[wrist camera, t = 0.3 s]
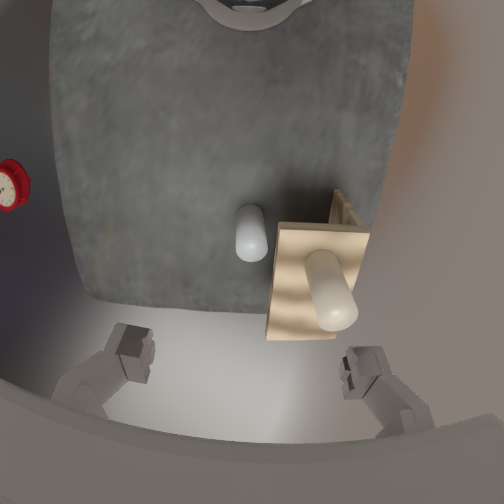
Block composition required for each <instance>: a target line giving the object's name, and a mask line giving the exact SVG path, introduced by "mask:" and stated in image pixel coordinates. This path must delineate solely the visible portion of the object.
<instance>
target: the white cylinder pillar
mask: <svg viewBox="0 0 504 504" xmlns="http://www.w3.org/2000/svg"><path fill="white" fill-rule="evenodd" d="M267 251H268V246H267V238H266V231H265V224H264V217H263V212H262V210H261V209H260V208H259V207H258V206H256V205H251V204H249V205H245V206H243V207H241V208H240V209H239V210H238V212H237V218H236V253H237V255H238V256H239V257H240V258H241V259H242V260H244V261H247V262H255V261H259V260H261V259H262V258H263V257H264V256H265V255H266V253H267Z"/></svg>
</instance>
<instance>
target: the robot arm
mask: <svg viewBox="0 0 504 504" xmlns="http://www.w3.org/2000/svg"><path fill="white" fill-rule="evenodd" d="M194 1H196V2H198V3H200V4H201V5H202V7H203V8H204V9H205V11H206V12H207V13H208V14H209V15H210V16H211V17H212V18H213V19H214V20H215V21H217V22H218V23H220V24H222V25H224V26H226V27H229V28H232V29H236V30H243V31H257V30H263V29H267V28H270V27H273V26H275V25H277V24H279V23H281V22H282V21H284V20H285V19H286V18H288V17H289V16H290V15H291V14H292V13H293V12H294V10H296V9H297V8H298V7H300V6H303V5H305V4H308V3H310V2H311V1H313V0H194ZM152 337H153V332H152V329H148V328H143V327H138V326H133V325H128V324H123V323H117V324H116V325H115V326H114V329H113V331H112V333H111V335H110V337H109V339H108V342H107V344H106V346H105V349H104V351H99V352H98V353H96V354H94V355H93V356H91V357H90V358H89V359H87V360H86V361H84V362H83V363H81V364H80V365H78V366H77V367H75V368H74V369H72V370H71V371H69V372H68V373H66V374H65V375H63V376H62V377H61V378H60V380H59V382H58V385H57V387H56V389H55V391H54V393H53V396H52V398H51V400H48V399H45V398H43V397H40V396H38V395H35V394H33V393H31V392H28V391H26V390H24V389H22V388H19V387H17V386H15V385H13V384H11V383H8V382H6V381H4V380H2V379H0V504H504V422H503V421H502V420H500V419H499V418H498V417H497V416H495V415H494V414H492V413H487V414H484V415H481V416H477V417H474V418H471V419H467V420H464V421H460V422H457V423H453V424H449V425H445V426H440V427H436V428H435V425H434V422H433V419H432V416H431V413H430V409H429V406H428V405H427V404H426V403H425V402H424V401H423V400H422V399H420V397H418V396H417V395H416V394H415V393H414V392H413V391H412V390H411V389H410V388H409V387H408V386H406V385H405V384H404V383H403V382H402V381H401V380H400V379H399V378H398V377H396V375H392V373H391V370H390V367H389V364H388V361H387V358H386V355H385V352H384V350H383V348H382V346H350V347H348V349H347V350H346V354H347V356H345V357H344V358H342V360H341V363H340V368H339V374H340V378H341V380H342V381H343V382H344V384H343V386H342V391H343V395H344V399H362V401H363V402H364V404H365V405H366V406H367V407H368V409H369V410H370V411H371V412H372V414H373V415H374V416H375V417H376V419H377V420H378V421H379V422H380V423H381V425H382V426H383V427H384V428H383V429H382V430H381V431H380V432H379V433H378V434H377V435H376V438H374V439H366V440H356V441H345V442H331V443H307V444H306V443H305V444H276V443H274V444H273V443H251V442H250V443H249V442H235V441H224V440H215V439H205V438H198V437H191V436H184V435H178V434H172V433H166V432H161V431H155V430H151V429H146V428H141V427H137V426H132V425H128V424H124V423H120V422H116V421H113V420H109V419H108V416H107V414H106V413H105V411H104V409H103V408H102V405H103V404H104V403H105V402H106V401H107V400H108V399H109V398H111V397H112V396H113V395H114V394H115V393H116V392H117V391H118V390H119V389H120V388H121V387H122V386H123V385H124V384H126V383H127V382H128V381H133V382H138V383H144V384H147V380H148V377H149V374H150V368H149V365H150V364H152V363H153V360H154V356H155V343H154V341H153V340H152ZM127 380H128V381H127Z"/></svg>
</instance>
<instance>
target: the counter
mask: <svg viewBox="0 0 504 504" xmlns="http://www.w3.org/2000/svg"><path fill="white" fill-rule="evenodd" d="M369 235H370V233H369V231H368V230H367V228H366V227H365V225H364V224H363V222H362V221H361V219H360V218H359V216H358V215H357V213H356V212H355V210H354V209H353V207H352V206H351V205H350V203H349V202H348V200H347V199H346V197H345V196H344V195H343V193H342V192H341V190H339V189H334V194H333V199H332V205H331V210H330V215H329V220H328V224H324V223H302V222H278V230H277V239H276V248H275V256H274V265H273V273H272V282H271V290H270V298H269V306H268V314H267V322H266V330H265V334H266V340H317V339H335V338H336V335H337V333H338V331H326V330H324V329H322V328H321V327H320V326H319V324H318V320H317V316H316V312H315V308H314V304H313V300H312V296H311V292H310V289H309V285H308V281H307V277H306V274H305V270H304V261H305V259H306V257H307V256H308V255H309V254H310V253H312V252H314V251H316V250H320V249H326V250H330V251H331V252H333V253H334V254H335V256H336V258H337V260H338V262H339V265H340V267H341V270H342V272H343V274H344V277H345V279H346V282H347V284H348V287H349V289H350V292H351V293H352V290H353V287H354V284H355V281H356V278H357V275H358V272H359V269H360V266H361V262H362V259H363V255H364V252H365V249H366V246H367V242H368V239H369Z"/></svg>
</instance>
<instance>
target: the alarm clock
mask: <svg viewBox="0 0 504 504" xmlns="http://www.w3.org/2000/svg"><path fill="white" fill-rule="evenodd" d="M29 182H31V177H29V178H28V176H27V173H26V172H25V170H24V168H23V167H22V165H21V164H20V163H18V162H17V161H15V160H13V159H6V160H4V161H2V162H1V163H0V209H1V210H3V211H10V210H13V209H14V208H15V207H18V206H21V205H23V204H24V203H25V202H27V203H29V201H27V199H28V197H29V193H30V183H29Z"/></svg>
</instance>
